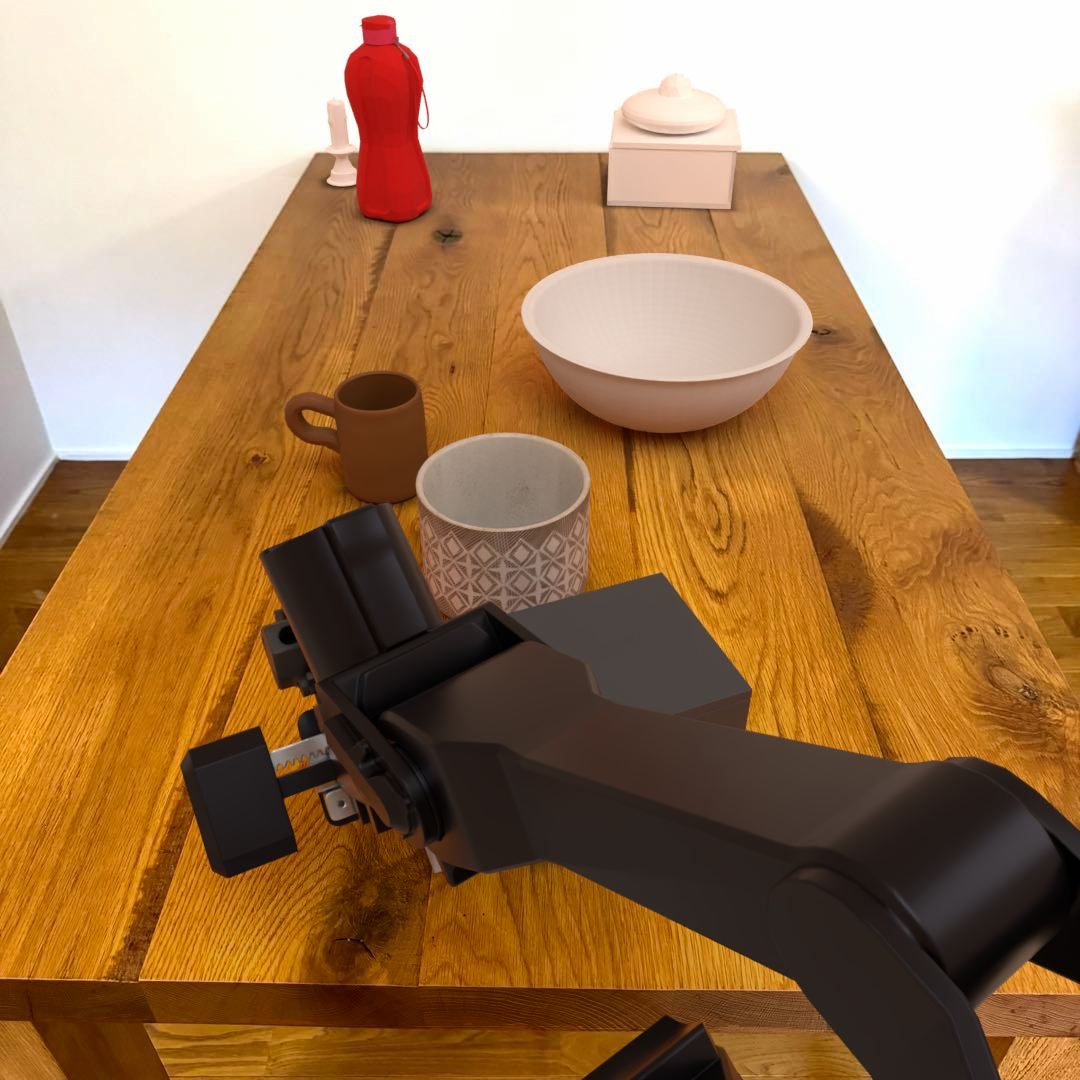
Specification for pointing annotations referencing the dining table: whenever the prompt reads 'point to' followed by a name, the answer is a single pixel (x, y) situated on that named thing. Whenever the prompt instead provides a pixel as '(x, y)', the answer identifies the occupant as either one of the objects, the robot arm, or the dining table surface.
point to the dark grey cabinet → (645, 650)
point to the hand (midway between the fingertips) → (360, 744)
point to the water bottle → (387, 123)
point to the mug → (370, 432)
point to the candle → (340, 146)
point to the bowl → (665, 337)
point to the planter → (503, 522)
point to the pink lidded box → (673, 149)
